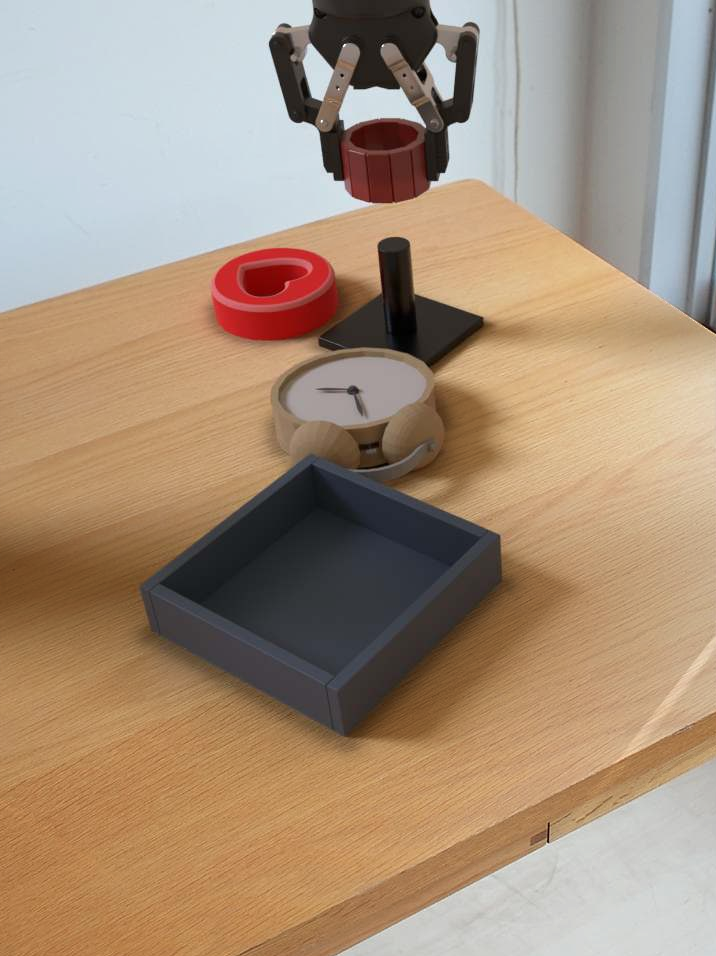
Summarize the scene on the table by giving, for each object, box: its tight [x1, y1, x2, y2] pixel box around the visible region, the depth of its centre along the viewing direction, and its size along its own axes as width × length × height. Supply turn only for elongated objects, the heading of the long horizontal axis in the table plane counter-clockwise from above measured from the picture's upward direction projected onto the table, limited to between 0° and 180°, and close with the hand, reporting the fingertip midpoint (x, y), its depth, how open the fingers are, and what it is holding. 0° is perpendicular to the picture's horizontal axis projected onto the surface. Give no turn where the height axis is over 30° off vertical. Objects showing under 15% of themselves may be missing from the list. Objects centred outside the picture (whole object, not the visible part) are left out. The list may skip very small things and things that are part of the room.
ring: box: [340, 117, 432, 204], centre depth 92 cm, size 6×6×4 cm
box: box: [139, 453, 503, 738], centre depth 77 cm, size 15×15×4 cm
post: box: [317, 236, 485, 369], centre depth 98 cm, size 9×9×8 cm
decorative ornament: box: [209, 247, 339, 342], centre depth 104 cm, size 10×10×3 cm
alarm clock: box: [269, 348, 445, 484], centre depth 89 cm, size 11×5×15 cm
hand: (387, 175), depth 93 cm, fingers closed on ring, 6 cm apart
